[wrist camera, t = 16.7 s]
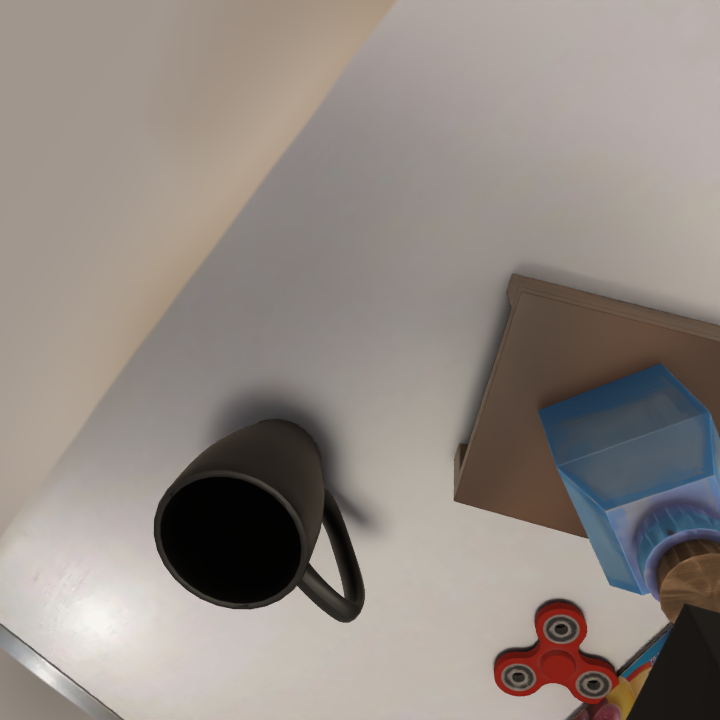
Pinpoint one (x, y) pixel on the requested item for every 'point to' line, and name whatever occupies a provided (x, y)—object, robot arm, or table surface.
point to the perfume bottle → (644, 485)
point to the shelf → (567, 389)
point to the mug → (256, 523)
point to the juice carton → (625, 688)
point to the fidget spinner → (556, 659)
